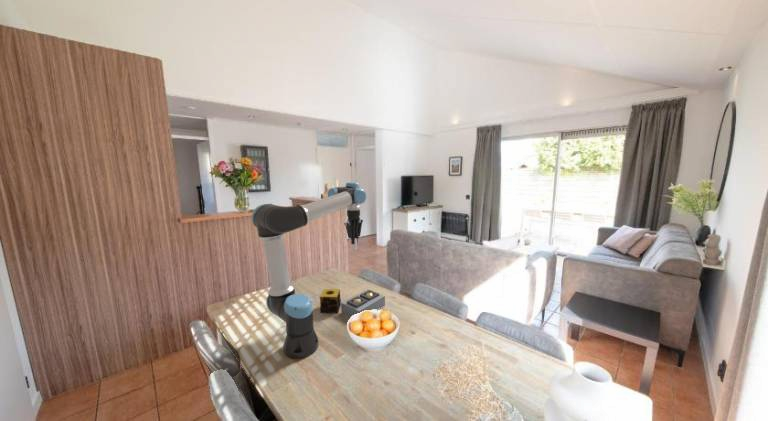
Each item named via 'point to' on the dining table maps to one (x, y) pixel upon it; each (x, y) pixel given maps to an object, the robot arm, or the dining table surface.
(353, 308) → the socket block
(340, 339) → the dining table surface
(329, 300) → the candle
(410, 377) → the dining table surface
